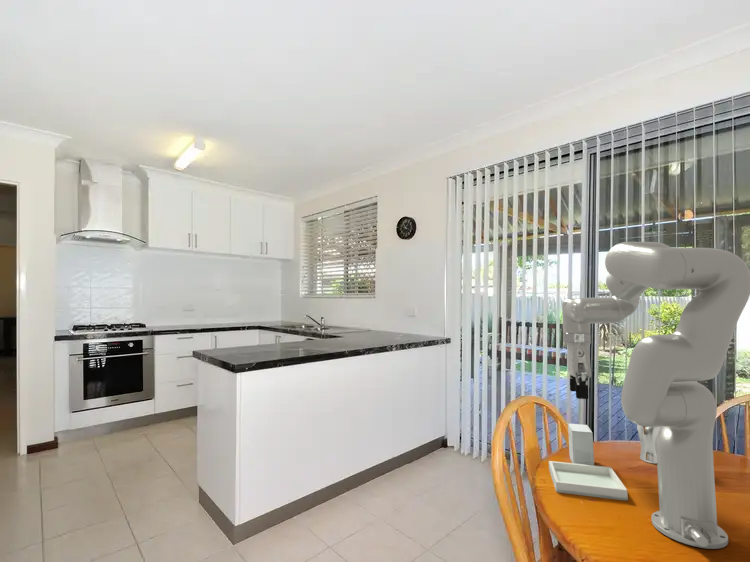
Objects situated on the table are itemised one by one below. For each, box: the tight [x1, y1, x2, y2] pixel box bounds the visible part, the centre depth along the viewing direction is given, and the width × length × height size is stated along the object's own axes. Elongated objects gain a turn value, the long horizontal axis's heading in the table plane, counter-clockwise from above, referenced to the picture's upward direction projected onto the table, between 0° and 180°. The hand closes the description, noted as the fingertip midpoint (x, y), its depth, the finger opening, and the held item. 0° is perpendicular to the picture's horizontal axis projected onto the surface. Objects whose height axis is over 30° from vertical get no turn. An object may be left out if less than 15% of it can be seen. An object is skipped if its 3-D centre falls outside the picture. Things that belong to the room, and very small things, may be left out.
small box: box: [567, 423, 595, 466], centre depth 118 cm, size 8×6×10 cm
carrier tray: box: [548, 460, 629, 502], centre depth 104 cm, size 14×16×2 cm
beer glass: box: [636, 424, 660, 465], centre depth 119 cm, size 7×7×15 cm
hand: (578, 394), depth 119 cm, fingers open, 9 cm apart
